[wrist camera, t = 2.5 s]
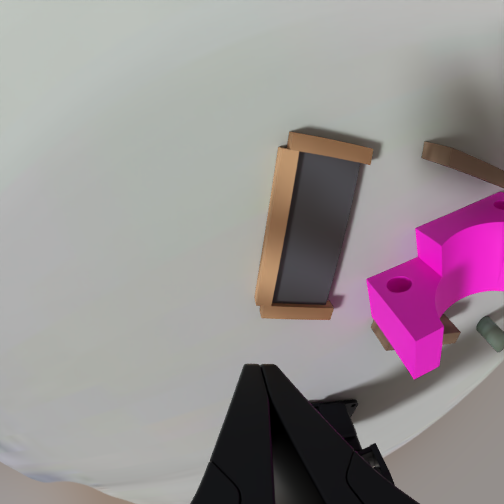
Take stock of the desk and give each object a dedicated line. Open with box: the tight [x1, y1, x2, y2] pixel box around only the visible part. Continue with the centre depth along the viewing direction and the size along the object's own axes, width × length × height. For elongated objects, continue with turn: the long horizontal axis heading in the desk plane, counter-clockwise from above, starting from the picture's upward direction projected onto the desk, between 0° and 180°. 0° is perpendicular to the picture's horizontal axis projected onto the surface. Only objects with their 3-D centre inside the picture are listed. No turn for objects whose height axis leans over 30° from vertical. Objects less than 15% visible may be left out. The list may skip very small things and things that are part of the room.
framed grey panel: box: [255, 132, 504, 352], centre depth 19 cm, size 18×27×4 cm, turn 82°
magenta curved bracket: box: [366, 192, 504, 379], centre depth 18 cm, size 15×6×8 cm, turn 109°
